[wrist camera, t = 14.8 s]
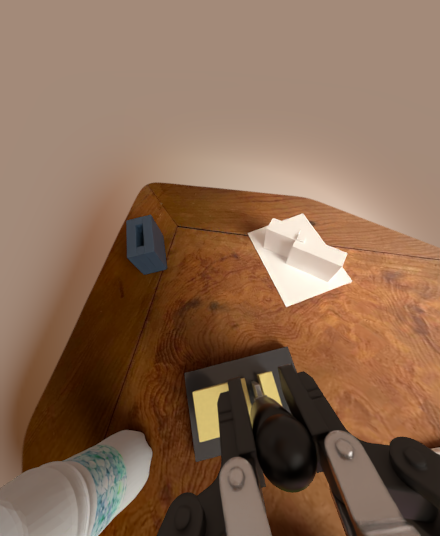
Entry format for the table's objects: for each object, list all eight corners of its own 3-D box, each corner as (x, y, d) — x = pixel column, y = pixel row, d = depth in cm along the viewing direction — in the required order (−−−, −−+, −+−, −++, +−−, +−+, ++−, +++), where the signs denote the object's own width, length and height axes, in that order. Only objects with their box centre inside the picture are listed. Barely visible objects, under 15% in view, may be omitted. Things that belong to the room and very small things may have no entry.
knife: (252, 420, 23) (278, 550, 6) (243, 383, 24) (243, 404, 8) (272, 415, 23) (351, 530, 6) (261, 378, 24) (301, 390, 8)
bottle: (102, 434, 26) (-198, 565, 8) (153, 415, 26) (-29, 501, 9) (105, 507, 23) (-360, 959, 5) (163, 484, 23) (-90, 836, 6)
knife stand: (143, 275, 36) (126, 258, 31) (141, 241, 39) (126, 220, 34) (167, 269, 36) (154, 251, 31) (163, 235, 39) (150, 214, 34)
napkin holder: (353, 280, 32) (374, 263, 27) (286, 307, 31) (295, 295, 26) (302, 212, 39) (311, 188, 34) (246, 233, 38) (246, 211, 33)
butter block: (205, 433, 24) (199, 442, 21) (198, 389, 26) (192, 391, 23) (255, 420, 24) (257, 427, 21) (244, 377, 26) (244, 378, 23)
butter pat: (268, 416, 24) (272, 423, 21) (256, 374, 26) (258, 374, 23) (280, 413, 24) (286, 419, 21) (268, 371, 26) (271, 371, 23)
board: (198, 457, 24) (195, 462, 23) (186, 373, 28) (184, 373, 27) (313, 426, 24) (317, 429, 23) (285, 347, 29) (287, 346, 27)
